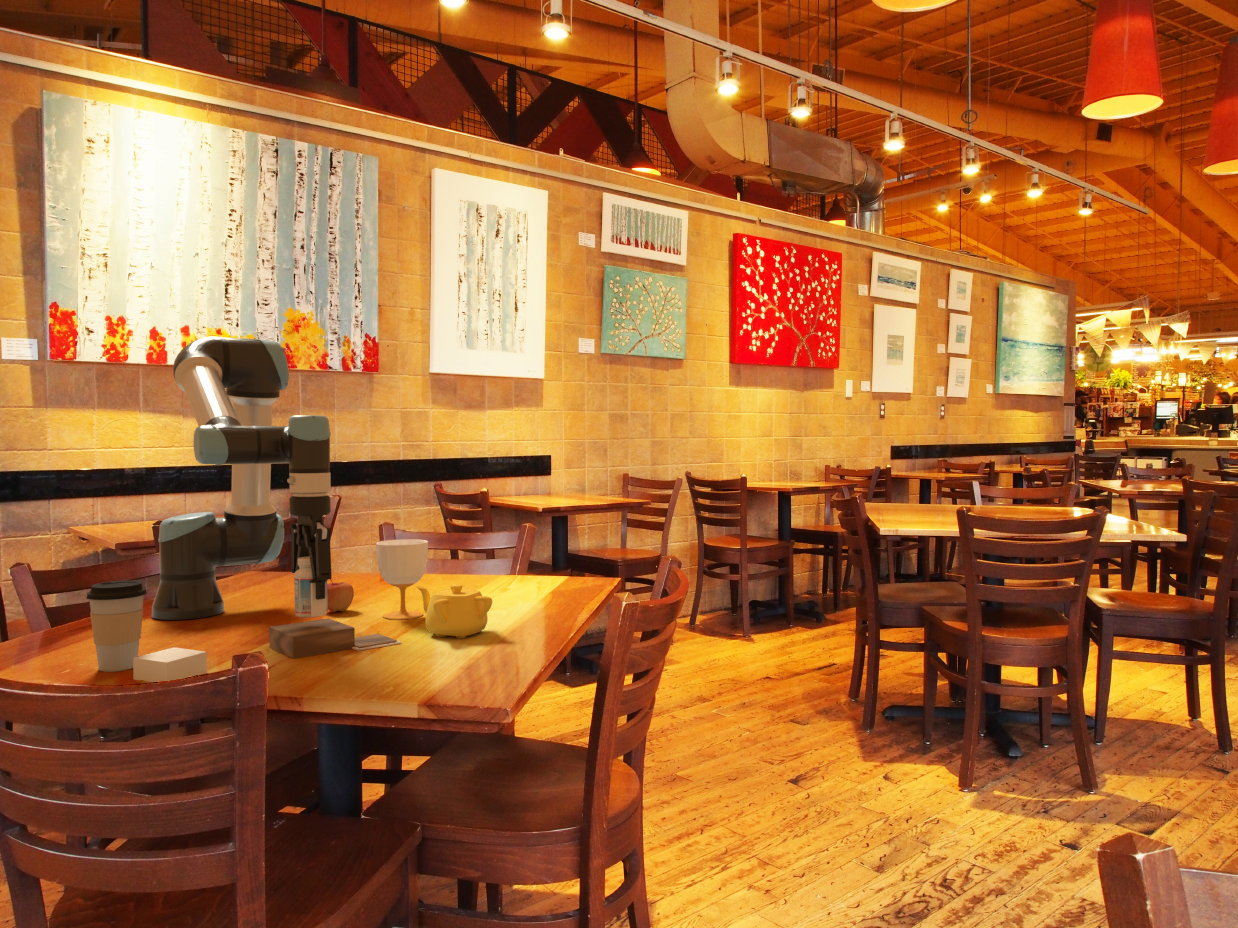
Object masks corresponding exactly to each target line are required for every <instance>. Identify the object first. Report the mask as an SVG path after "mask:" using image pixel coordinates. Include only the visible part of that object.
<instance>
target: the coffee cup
mask: <svg viewBox="0 0 1238 928" xmlns="http://www.w3.org/2000/svg"><path fill="white" fill-rule="evenodd" d="M147 594H148V592H147V588H146V587H144V586H143V582H142V581H140V580H115V581H114V580H113V581H106V582H105V581H104V582H99V583H95V584H92V585H90V591H88V592H87V593H86V597H85V598H86V599H87V600H89V608H90V612H89V615H90V622H91V630H92V637H93V643H94V645H95V650H96V658H97V664H98V671H101V672H106V673H107V672H108V673H111V672H112V673H114V672H122V671H123V672H124V671H127V670H131V669H133V658H134V657H138V656H139V648H140V640H141V637H142V627H143V617H144V616H143V615H144V608H143V607H144V596H145V595H147Z"/></svg>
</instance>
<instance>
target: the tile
mask: <svg viewBox="0 0 1238 928" xmlns="http://www.w3.org/2000/svg"><path fill="white" fill-rule="evenodd" d="M400 644H402V641H400V640H397V639H394V638H391V637H389V636H385V635H383V634H380V633H376V634H368V635H363V636H362V635H361V636H357V637H355V647H352V650H354V651H357V652H360V651H365V650H371V649H377V648H382V647H388V646H393V645H400Z"/></svg>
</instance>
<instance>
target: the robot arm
mask: <svg viewBox="0 0 1238 928" xmlns="http://www.w3.org/2000/svg"><path fill="white" fill-rule="evenodd" d="M172 373H173V374H172V375H173V378H174V381H175V383H176V385H177V387H178V388H179V389H180V390H181V391H182V392H183V393H185V394H186V395H185V396H186V397H187V400H188V402H189V405H190V408H191V410H192V413H193V415H194V418H195V421H196V423H197V425H198V426H197V427H196V428H195V430H194V432H193V433H194V434H193V451H194V457H195V460H196V462H198V463H199V464H201V465H215V466H222V465H231V499H230V503H229V504H228V505H227V506H225V508H224V509H223V511H224V512H223V516H221V517H216V515H215V513H214V511H203V512H202V511H201V512H192V513H186V514H181V515H175V516H172V517H167V518H166V519H164V520H162V521H161V523H160V524H159V530H158V531H159V532H158V539H157V540H158V544H159V547H158V548H159V550H158V551H159V585H158V588H157V590H156V593H155V597H154V599H153V602H152V605H151V618H153V619H157V620H163V621H166V620H168V621H172V620H173V621H174V620H175V621H176V620H177V621H178V620H181V621H182V620H193V619H201V618H207V617H212V616H217V615H219V614H221V613H224V612H225V602H224V598H223V596H222V593H221V590H220V588H219V585H218V583H217V582H218V581H217V579H216V568H217V567H218V568H219V567H226V566H227V567H229V566H242V565H252V564H254V565H259V564H263V563H270V562H273V561H275V560H276V559H277V558H278V557H279V555H280V553H281V551H282V548H283V544H284V540H285V539H284V537H285V528H284V526H285V523H284V518H283V516H282V515H281V514H278V513H277V508H276V507H275V506H274V505H273V504H272V503H271V476H272V475H271V473H272V472H271V471H272V466H271V465H272V464H289V465H288V467H289V469H288V470H289V474H288V475H289V477H288V478H287V483H288V484H289V493H290V494H292V495H291V496H290V497H289V514H290V515H291V516H293V517H297V523H291V525H290V530H291V531H290V532H291V573H292V574H295V572H296V571H297V570H299V566H298V558H301V557H309V556H310V563H311V570H312V578H313V579H312V580H310V581H309V582H310V583H311V617H310V618H317V617H316V616H319V617H322V616H327V614H326V581H327V582H328V580H330V579H331V580H332V576H333V575H332V558H331V557H332V555H331V554H332V553H331V537H332V535H331V534H332V530H331V528H330V527H325V523H324V518H323V517H324V516H327V515H330V513H331V512H332V511H331V496H330V495H328V494H329V493H330V492H331V489H332V488H331V484H332V483H331V469H330V468H331V457H330V456H331V444H330V443H331V438H330V437H331V429H330V420H329V418H328V417H327V416H325V415H312V414H311V415H304V414H303V415H301V414H299V415H298V414H297V415H291V416H290V417H289V419H288V425H273V405H274V403H276V402H277V401H278V400H279V399H280V395H281V394H280V393H281V392H280V391H285V390H286V389H287V388H288V386H289V379H290V378H289V376H290V374H289V373H290V372H289V365H288V359H287V356H286V353H285V350H284V348H283V347H282V345H281V344H280V343H278V341H275V340H269V339H268V340H267V339H261V338H243V337H242V338H239V337H238V338H237V337H222V336H206V337H201V338H198V339H195V340H193V341H191V342H190V343H188V344H187V345H186V346H185V347H183V348H182V349H181V350H180V352H179V353H177V356H176V357H175V359H174V362H173V367H172Z"/></svg>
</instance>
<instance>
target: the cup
mask: <svg viewBox="0 0 1238 928" xmlns="http://www.w3.org/2000/svg"><path fill="white" fill-rule="evenodd" d="M375 549H376V550H375V551H376V561H377V566H378V567H377V568H378V570H379V573H380V576H381V578H382V580H384V582H385V583H387V584H389V585H390V586H392V587H395V588H398V589H399V591H400V593H399V594H400V606H399V607H400V608H399V610H398V611H391V612H387V613H384V614H383V615H382V618H383V619H386V620H391V621H395V620H396V621H397V620H398V621H402V620H404V621H405V620H415V619H417V618H421V617H423V615H424V614H423V613H424V612H421V611H416V610H407V609H406V608H407V607H406V589H407V588H408V587H411V586H414V585H415V584H417V583H418V582H420V581H421V579H422V578H423V576H424V575H425V572H426V568H427V563H428V553H429V552H428V551H429V541H428V540H427V539H426V540H425V539H417V538H412V539H410V538H406V539H405V538H404V539H402V538H401V539H399V538H398V539H388V540H380V541H377V542H376V544H375Z"/></svg>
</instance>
